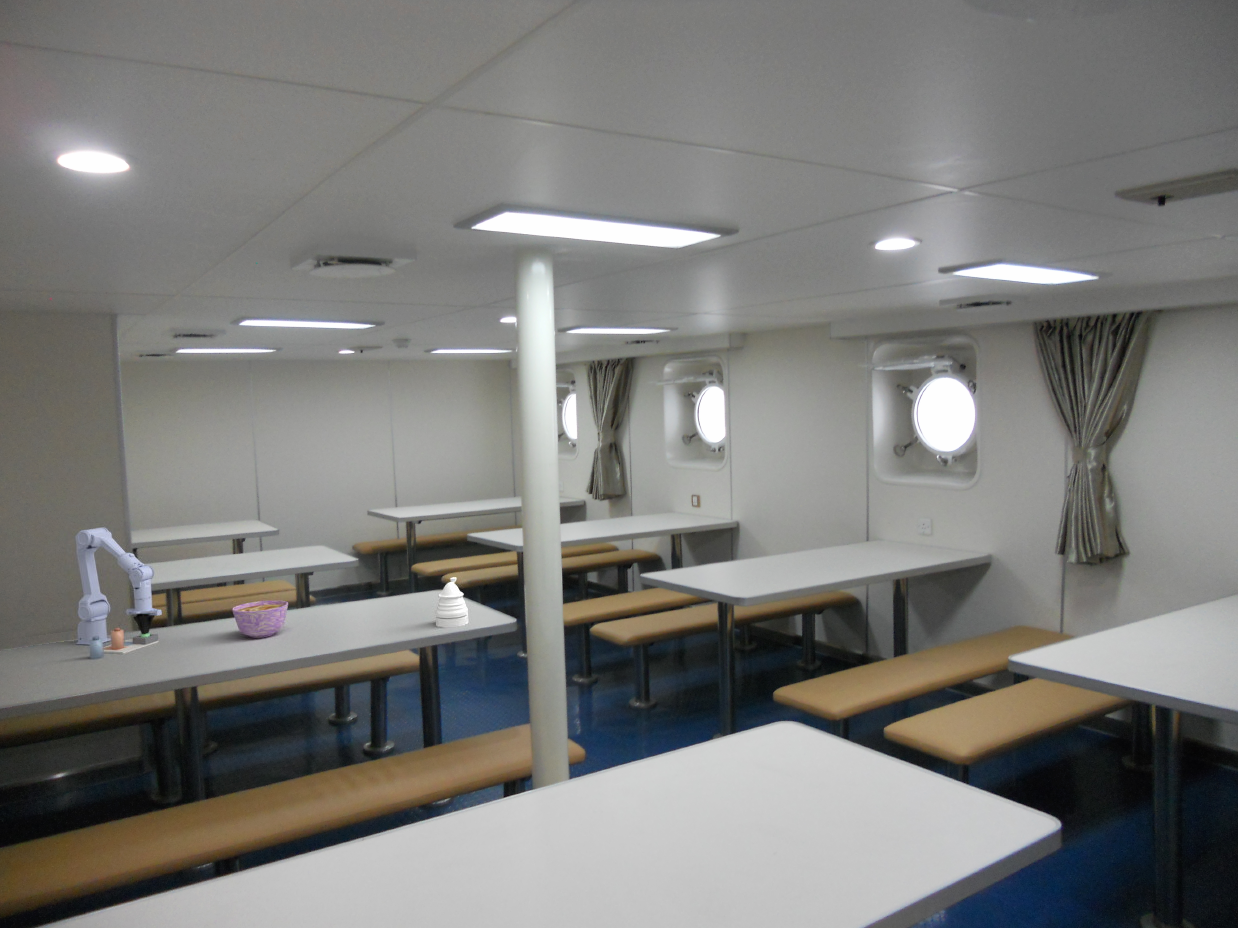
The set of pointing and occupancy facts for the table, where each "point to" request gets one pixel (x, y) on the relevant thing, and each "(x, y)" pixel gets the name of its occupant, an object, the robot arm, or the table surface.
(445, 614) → the honey pot
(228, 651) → the table surface
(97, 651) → the slate marker
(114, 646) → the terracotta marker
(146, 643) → the picture board
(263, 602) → the bowl of food
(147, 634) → the button
